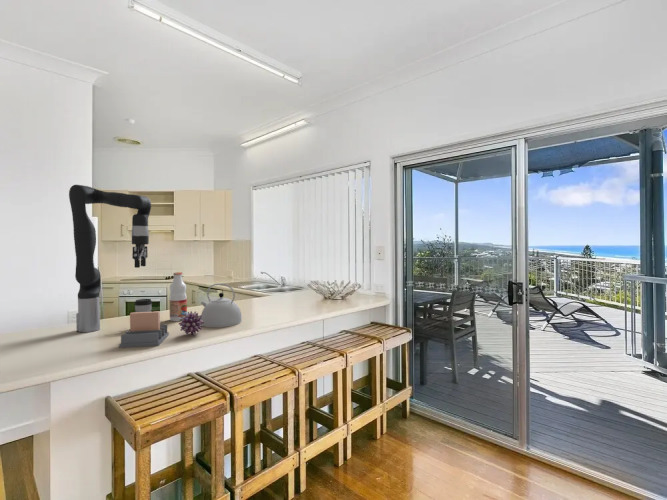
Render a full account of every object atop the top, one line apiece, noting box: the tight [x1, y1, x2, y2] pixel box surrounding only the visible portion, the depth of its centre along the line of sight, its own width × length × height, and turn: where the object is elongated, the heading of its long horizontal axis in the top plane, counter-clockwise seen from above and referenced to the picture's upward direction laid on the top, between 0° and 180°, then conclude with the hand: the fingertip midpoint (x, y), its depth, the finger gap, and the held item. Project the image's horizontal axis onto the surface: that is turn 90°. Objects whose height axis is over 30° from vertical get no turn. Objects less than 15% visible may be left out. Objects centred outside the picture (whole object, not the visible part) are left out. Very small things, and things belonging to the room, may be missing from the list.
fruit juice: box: [169, 271, 188, 322], centre depth 202 cm, size 9×9×28 cm
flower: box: [178, 310, 204, 336], centre depth 170 cm, size 12×12×12 cm
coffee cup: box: [134, 298, 153, 312], centre depth 183 cm, size 8×8×15 cm
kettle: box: [200, 283, 243, 328], centre depth 196 cm, size 25×23×22 cm
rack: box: [118, 324, 170, 349], centre depth 159 cm, size 16×17×6 cm
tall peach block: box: [129, 310, 161, 331], centre depth 159 cm, size 12×2×12 cm, turn 102°
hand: (140, 266), depth 173 cm, fingers open, 8 cm apart
